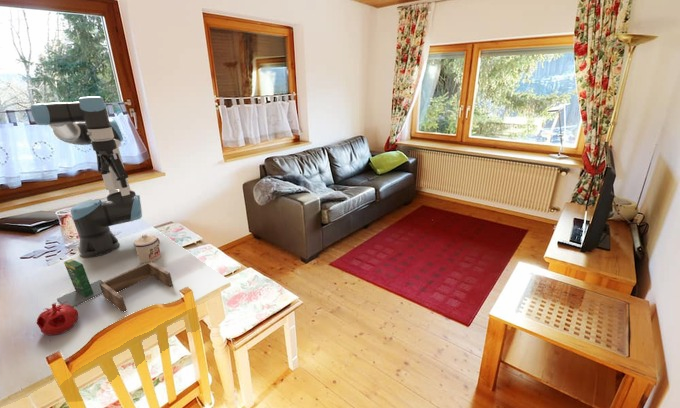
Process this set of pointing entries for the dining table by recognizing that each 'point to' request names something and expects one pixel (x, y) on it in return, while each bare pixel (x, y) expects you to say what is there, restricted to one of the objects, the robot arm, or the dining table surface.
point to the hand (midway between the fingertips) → (118, 192)
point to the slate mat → (77, 298)
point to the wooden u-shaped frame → (132, 282)
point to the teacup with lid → (147, 248)
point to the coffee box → (79, 278)
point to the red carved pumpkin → (57, 319)
